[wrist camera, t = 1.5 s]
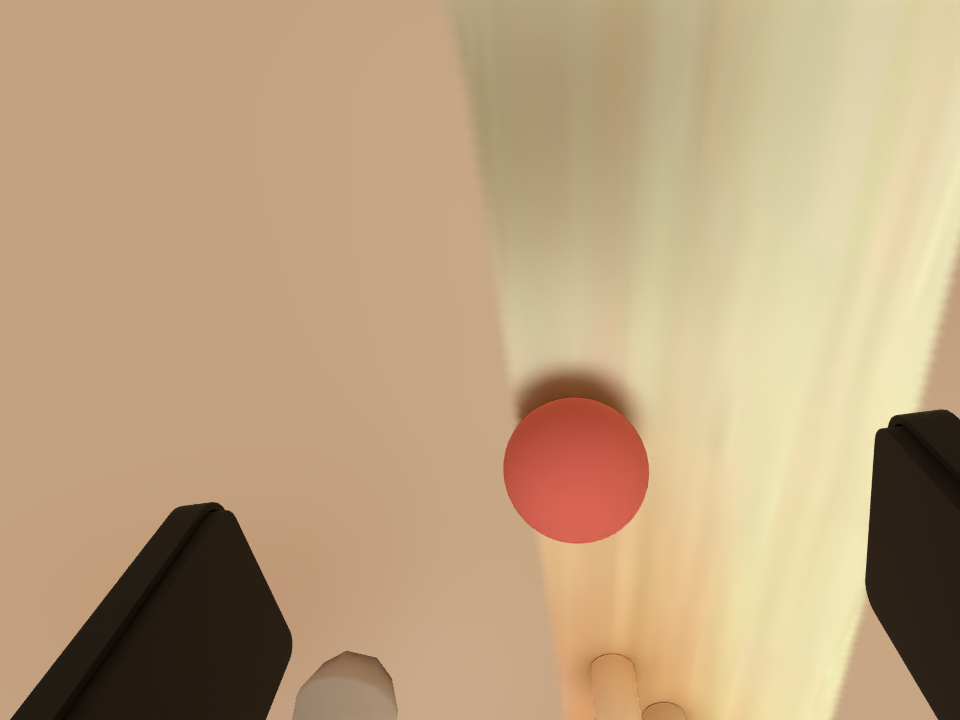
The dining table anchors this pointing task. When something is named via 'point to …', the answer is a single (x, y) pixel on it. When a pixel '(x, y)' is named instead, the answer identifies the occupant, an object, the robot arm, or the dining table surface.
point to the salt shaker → (347, 691)
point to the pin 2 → (664, 712)
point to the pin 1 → (614, 689)
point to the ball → (576, 470)
